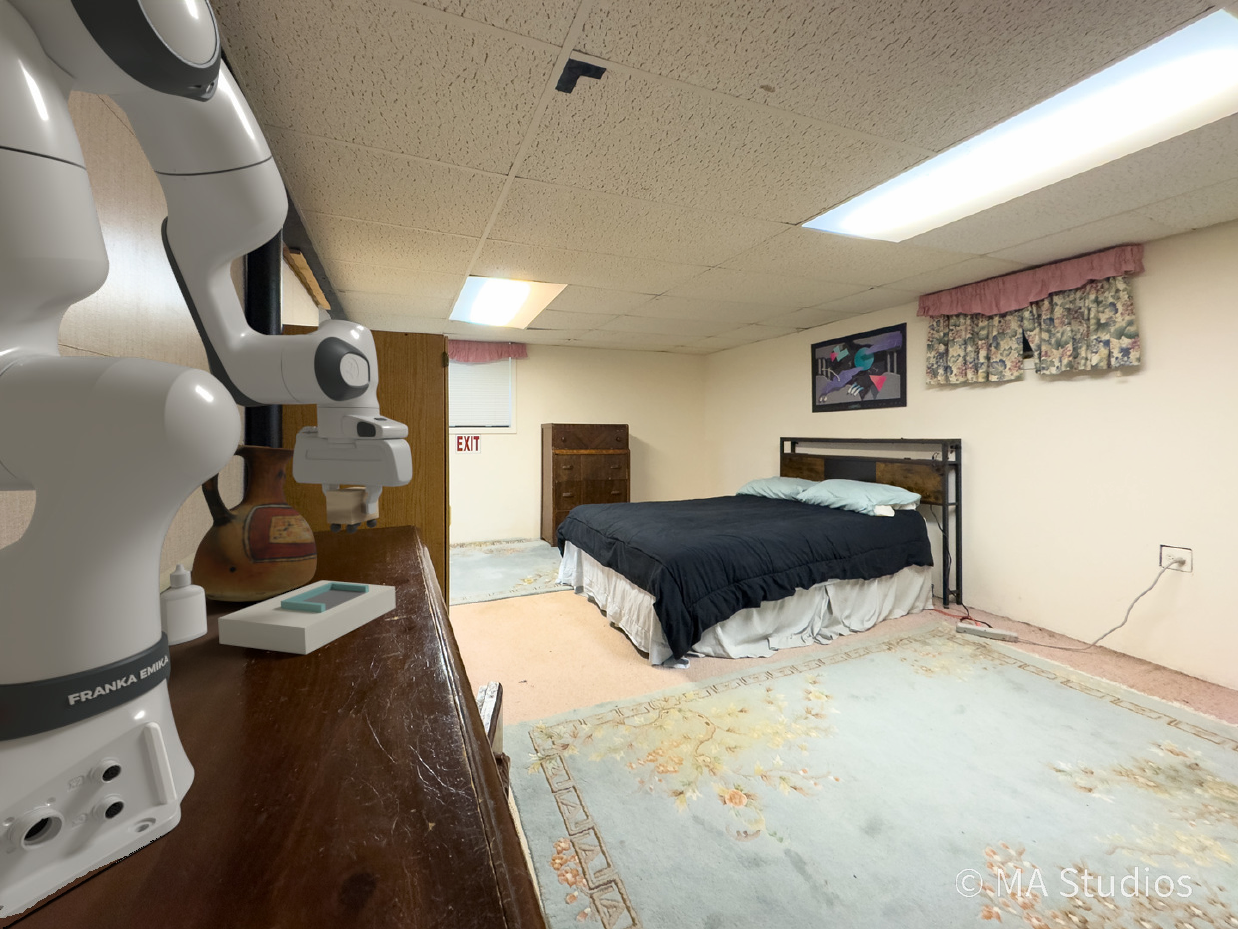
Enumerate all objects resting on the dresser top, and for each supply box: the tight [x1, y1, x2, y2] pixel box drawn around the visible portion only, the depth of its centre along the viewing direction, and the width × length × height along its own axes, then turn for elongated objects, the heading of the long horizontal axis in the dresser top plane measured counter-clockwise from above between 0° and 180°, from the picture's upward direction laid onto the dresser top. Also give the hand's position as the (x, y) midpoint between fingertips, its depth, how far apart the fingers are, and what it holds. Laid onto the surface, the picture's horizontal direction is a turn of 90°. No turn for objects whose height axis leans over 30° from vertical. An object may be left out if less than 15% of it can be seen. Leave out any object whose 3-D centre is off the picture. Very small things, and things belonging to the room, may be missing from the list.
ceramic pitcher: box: [191, 443, 318, 603], centre depth 101 cm, size 20×20×30 cm
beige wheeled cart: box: [325, 486, 380, 534], centre depth 83 cm, size 6×5×7 cm
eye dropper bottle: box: [160, 563, 208, 647], centre depth 80 cm, size 4×6×12 cm
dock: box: [217, 580, 397, 655], centre depth 87 cm, size 20×16×5 cm
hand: (353, 512), depth 83 cm, fingers closed on beige wheeled cart, 5 cm apart
